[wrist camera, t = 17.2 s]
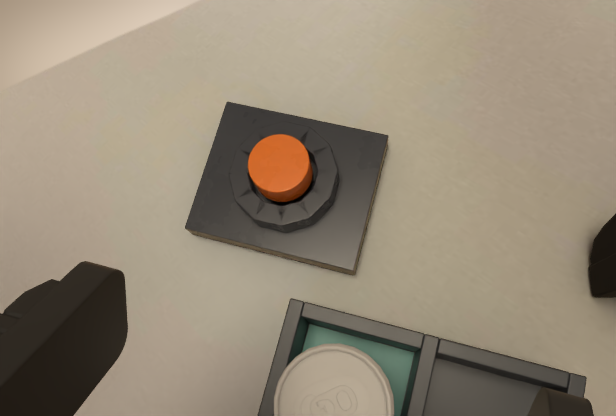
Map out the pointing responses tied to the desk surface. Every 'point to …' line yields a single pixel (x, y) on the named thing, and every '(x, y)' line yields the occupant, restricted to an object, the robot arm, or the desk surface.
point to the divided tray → (420, 366)
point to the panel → (301, 211)
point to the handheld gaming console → (604, 261)
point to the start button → (280, 167)
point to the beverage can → (333, 384)
